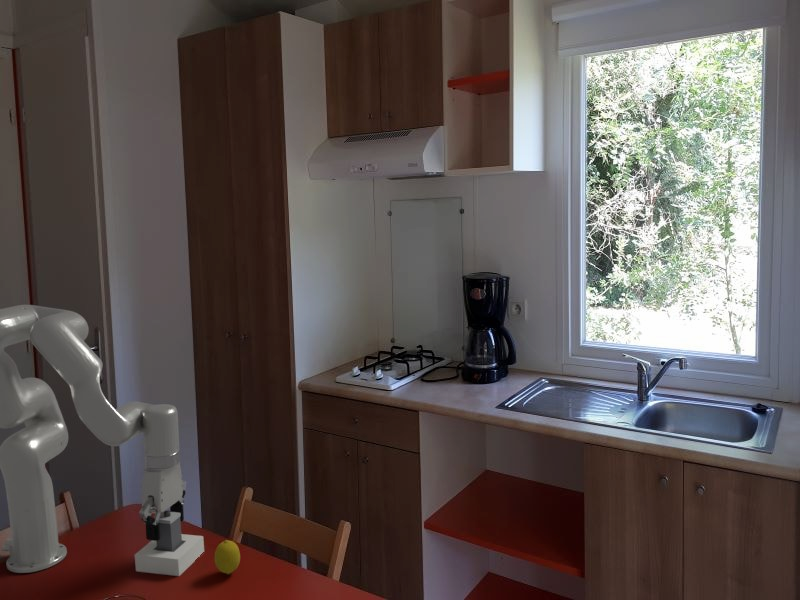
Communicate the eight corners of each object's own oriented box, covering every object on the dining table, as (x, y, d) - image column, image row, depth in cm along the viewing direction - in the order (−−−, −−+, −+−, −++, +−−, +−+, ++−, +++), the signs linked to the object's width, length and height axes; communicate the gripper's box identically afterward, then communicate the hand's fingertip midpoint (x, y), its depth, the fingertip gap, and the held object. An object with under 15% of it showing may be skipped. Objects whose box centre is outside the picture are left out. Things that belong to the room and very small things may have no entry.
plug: (157, 560, 158) (153, 515, 156) (167, 551, 162) (164, 507, 160) (173, 562, 157) (169, 516, 155) (183, 553, 161) (180, 508, 159)
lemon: (243, 567, 156) (241, 533, 155) (238, 580, 150) (236, 545, 149) (218, 568, 156) (216, 534, 155) (213, 581, 150) (210, 546, 149)
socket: (135, 571, 155) (134, 554, 155) (163, 547, 166) (162, 532, 165) (179, 576, 153) (177, 559, 152) (204, 551, 163) (203, 536, 163)
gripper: (168, 445, 165) (171, 512, 167) (124, 471, 148) (128, 545, 151) (196, 447, 163) (199, 515, 166) (155, 474, 147) (158, 549, 149)
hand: (165, 529), depth 158 cm, fingers open, 9 cm apart
